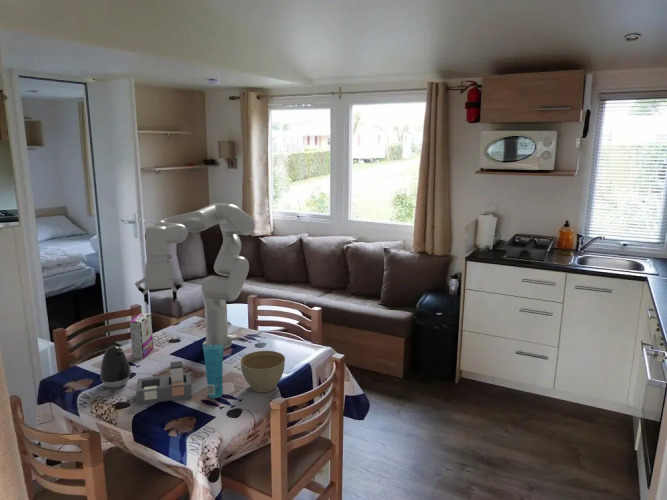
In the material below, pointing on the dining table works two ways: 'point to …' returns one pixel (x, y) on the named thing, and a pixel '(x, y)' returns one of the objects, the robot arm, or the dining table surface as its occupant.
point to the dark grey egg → (115, 368)
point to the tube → (214, 369)
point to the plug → (176, 372)
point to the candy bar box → (141, 335)
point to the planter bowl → (263, 369)
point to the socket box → (162, 389)
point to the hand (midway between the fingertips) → (161, 302)
